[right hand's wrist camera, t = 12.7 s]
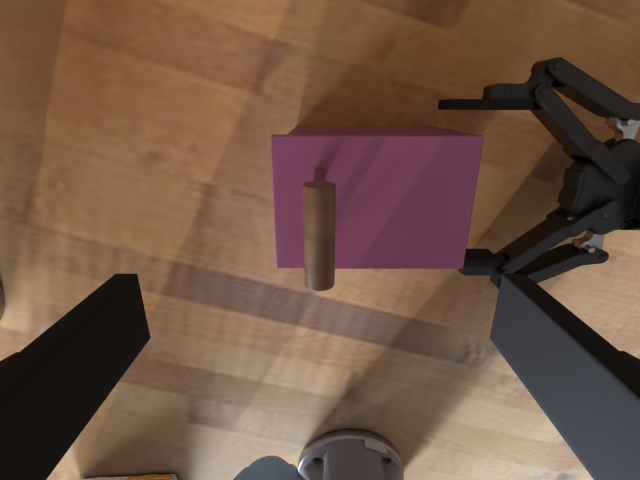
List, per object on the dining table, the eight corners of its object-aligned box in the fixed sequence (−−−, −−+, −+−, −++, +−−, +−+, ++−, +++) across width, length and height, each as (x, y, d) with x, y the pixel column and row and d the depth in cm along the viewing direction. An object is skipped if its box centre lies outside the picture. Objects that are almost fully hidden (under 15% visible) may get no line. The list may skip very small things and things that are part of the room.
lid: (278, 263, 28) (262, 321, 21) (272, 134, 25) (250, 147, 17) (458, 263, 28) (509, 321, 21) (478, 134, 25) (548, 147, 17)
